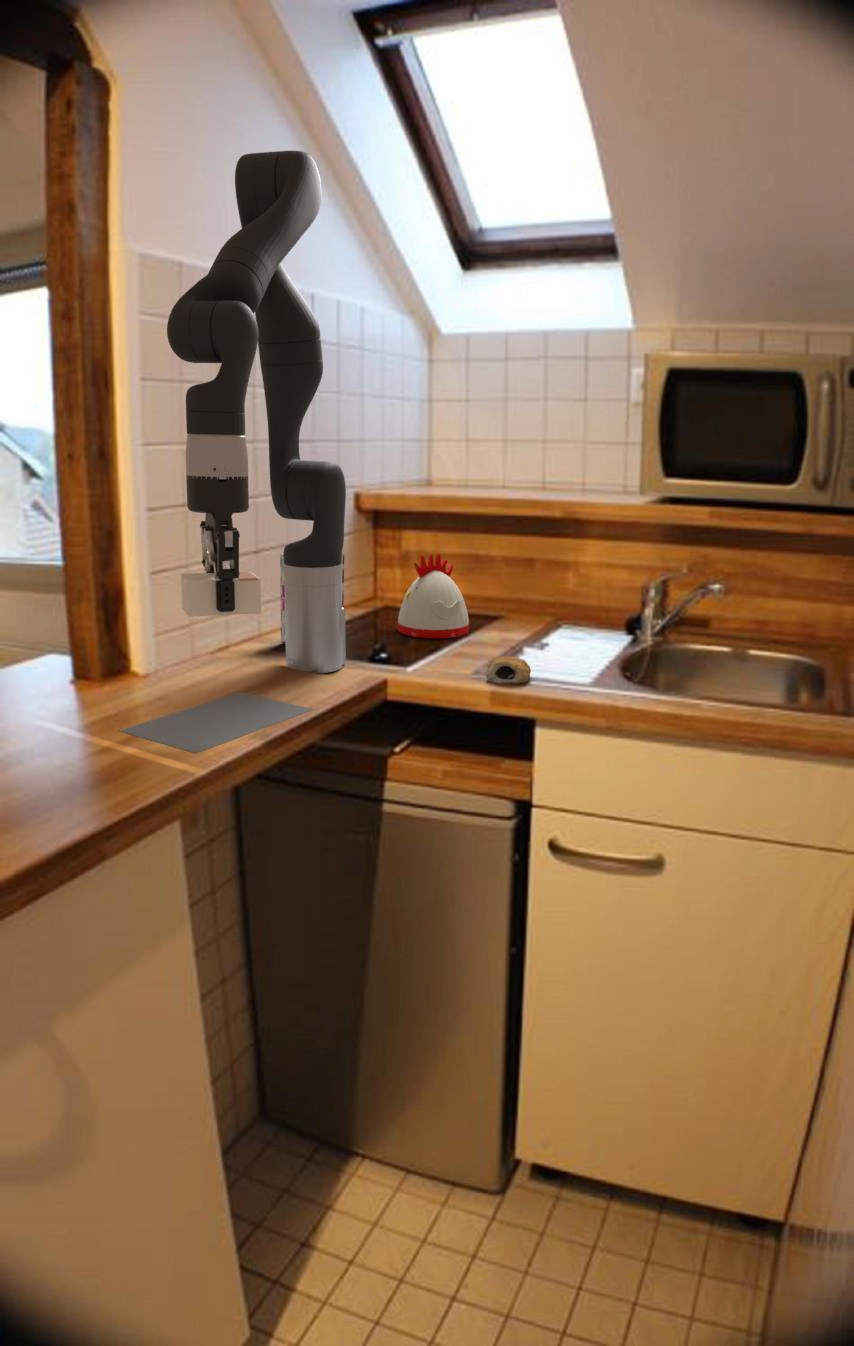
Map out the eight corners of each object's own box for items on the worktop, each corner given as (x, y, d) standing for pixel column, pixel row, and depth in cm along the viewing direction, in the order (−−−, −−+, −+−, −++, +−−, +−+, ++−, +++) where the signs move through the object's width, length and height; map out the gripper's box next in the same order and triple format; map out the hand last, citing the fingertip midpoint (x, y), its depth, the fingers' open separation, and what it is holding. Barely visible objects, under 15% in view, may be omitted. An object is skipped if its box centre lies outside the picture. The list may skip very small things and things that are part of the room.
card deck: (182, 608, 121) (180, 573, 120) (251, 605, 124) (250, 571, 123) (188, 616, 115) (187, 580, 114) (261, 613, 119) (260, 577, 117)
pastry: (495, 669, 156) (496, 646, 155) (535, 672, 154) (536, 650, 153) (484, 683, 147) (485, 660, 146) (526, 687, 146) (527, 664, 145)
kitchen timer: (387, 625, 186) (387, 550, 182) (448, 620, 192) (450, 548, 188) (415, 640, 174) (416, 560, 170) (480, 635, 180) (483, 557, 176)
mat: (241, 695, 137) (240, 691, 137) (314, 713, 130) (314, 709, 130) (119, 735, 120) (118, 730, 119) (195, 757, 112) (195, 753, 112)
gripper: (178, 470, 120) (183, 598, 125) (195, 475, 108) (200, 618, 112) (236, 470, 123) (239, 596, 127) (259, 475, 110) (262, 615, 114)
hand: (221, 606), depth 119 cm, fingers closed on card deck, 6 cm apart
